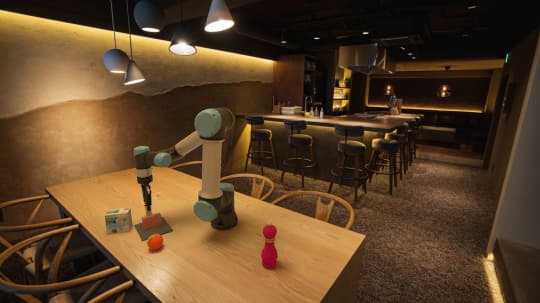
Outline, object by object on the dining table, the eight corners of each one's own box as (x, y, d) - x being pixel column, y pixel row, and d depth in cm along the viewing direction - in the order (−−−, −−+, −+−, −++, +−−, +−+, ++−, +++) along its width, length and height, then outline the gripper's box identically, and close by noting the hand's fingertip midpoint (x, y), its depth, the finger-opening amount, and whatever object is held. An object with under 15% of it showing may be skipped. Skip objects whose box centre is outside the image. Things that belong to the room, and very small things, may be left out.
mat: (173, 231, 130) (173, 230, 130) (142, 241, 121) (141, 240, 121) (163, 217, 144) (163, 216, 144) (134, 225, 135) (134, 224, 135)
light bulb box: (106, 234, 127) (103, 215, 124) (111, 227, 133) (108, 209, 130) (129, 231, 130) (127, 212, 127) (133, 224, 136) (130, 207, 133)
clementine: (152, 255, 111) (150, 241, 109) (142, 251, 114) (140, 237, 112) (167, 246, 118) (165, 233, 116) (157, 242, 121) (156, 229, 119)
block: (161, 224, 135) (160, 214, 133) (143, 230, 130) (142, 219, 128) (160, 223, 137) (159, 212, 135) (142, 228, 131) (141, 217, 130)
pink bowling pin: (277, 258, 110) (278, 217, 105) (278, 269, 103) (279, 227, 98) (260, 258, 110) (261, 217, 105) (260, 270, 103) (261, 227, 98)
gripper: (155, 177, 129) (159, 218, 135) (149, 170, 139) (153, 209, 144) (139, 180, 124) (144, 222, 130) (134, 173, 134) (139, 212, 140)
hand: (149, 215), depth 137 cm, fingers closed
